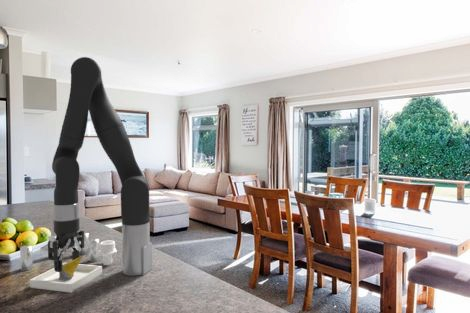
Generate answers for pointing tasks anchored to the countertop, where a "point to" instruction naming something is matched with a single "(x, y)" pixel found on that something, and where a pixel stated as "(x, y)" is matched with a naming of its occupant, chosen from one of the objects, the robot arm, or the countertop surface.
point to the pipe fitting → (107, 251)
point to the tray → (69, 285)
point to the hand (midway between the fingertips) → (67, 266)
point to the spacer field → (27, 259)
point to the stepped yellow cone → (69, 269)
